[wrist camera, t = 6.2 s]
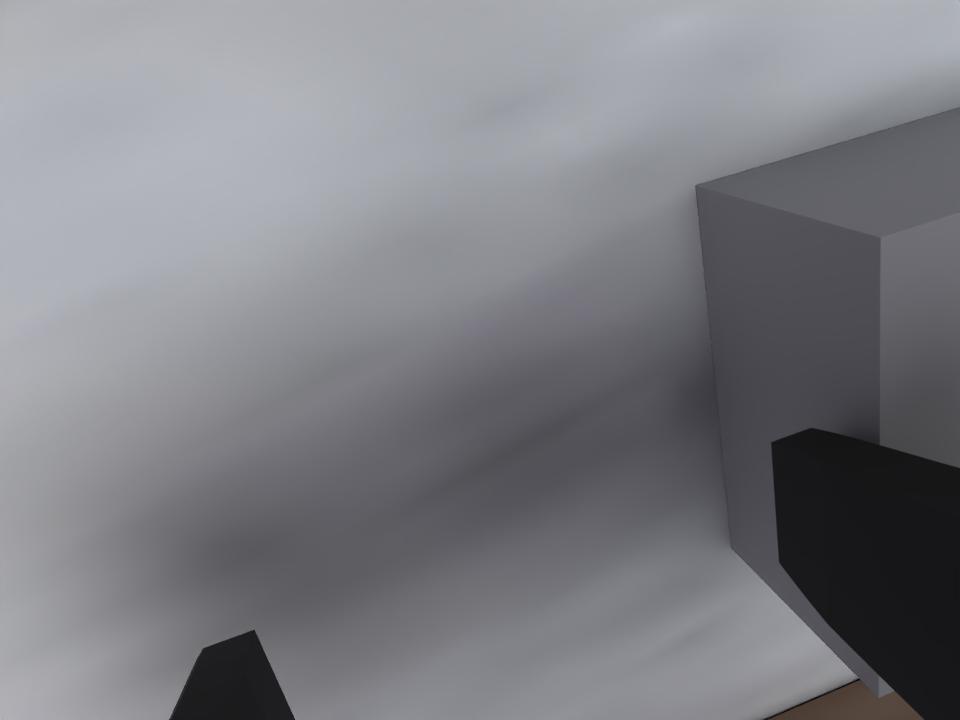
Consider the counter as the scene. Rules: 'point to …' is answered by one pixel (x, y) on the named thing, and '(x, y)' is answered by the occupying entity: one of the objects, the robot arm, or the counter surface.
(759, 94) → the counter surface
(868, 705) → the bay
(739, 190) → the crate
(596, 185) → the counter surface
